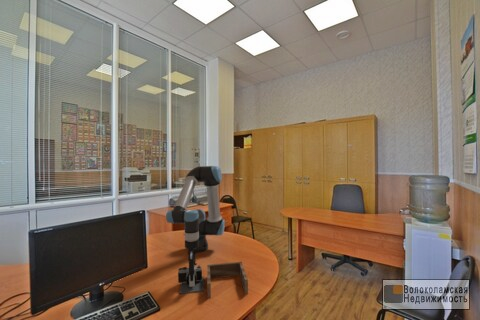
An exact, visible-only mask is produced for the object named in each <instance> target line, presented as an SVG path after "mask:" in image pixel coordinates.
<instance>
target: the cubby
mask: <svg viewBox="0 0 480 320" xmlns="http://www.w3.org/2000/svg"><path fill="white" fill-rule="evenodd" d="M206 267H207V268H206V269H207V271H206V273H207V274H206V276H207V277H206V278H207V279H206V282H207V283H206V286H207V287H206V288H207V299H211V298H212V297H211V296H212V295H211V294H212V293H211V292H212V291H211V290H212V289H211V279H216V278H225V277H234V276H239V278H240V280H241V284H242V287H243V291H244V294H245V295H248V294H249V280H248V276H247V272H246V271H245V267H244V264H243V262H242V261H235V262H225V263H213V264H207V265H206Z"/></svg>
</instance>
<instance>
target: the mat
mask: <svg viewBox="0 0 480 320" xmlns="http://www.w3.org/2000/svg"><path fill="white" fill-rule="evenodd" d="M180 284H181V285H180V290H179V295H186V294H195V293H202V292H204V290H205V276H203V275H202V280H201V281H196V282H195V286H193V287H189V285H188V284H187V282H186V283H180Z"/></svg>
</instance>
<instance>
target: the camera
mask: <svg viewBox="0 0 480 320" xmlns="http://www.w3.org/2000/svg"><path fill="white" fill-rule="evenodd" d="M177 271H178V272H177V277H178V279H177V280H178V284H182V283H186V282H187V284H188V285H189V275H188V273H189V267H187V266H184V267H180V268H178V270H177ZM194 273H195V282H196V281H201V280H202V277H203V270H202V266H201V265H196V266H195V267H194Z"/></svg>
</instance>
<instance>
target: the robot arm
mask: <svg viewBox="0 0 480 320" xmlns="http://www.w3.org/2000/svg"><path fill="white" fill-rule="evenodd" d="M222 174H223V173H222V170H221V168H220V167H219V166H218V165H217V166H216V165H215V166H214V165H207V166H205V165H203V166H201V165H200V166H195V167H194V168H192V169H191V170H189V172H188V173H187V175H186V176H185V177H184V184H183V186H182V188H181V191H180V193H179V195H178V198H177V200H176V202H175V204H174V206H173V209H170V210H168V211H167V212H166V215H165V218H166V219H165V221H166V222H167V223H168V224H184V233H183V236H184V239H185V240H184V248H185V249H188V250H187V255H188V258H187V259H188V268H189V273H188V275H189V287H193V286H195V273H194V267H196V266H198V265H197V264H198V263H197V262H196V254H197V253H201V252H204V251H207V250H208V249H209V242H208V240H207V236H222V235H223V234H224V231H225V226H226V220H225V219H223V216H222V215H221V210H220V196H219V186H220V184H221V182H222V180H223V175H222ZM198 183H203V186H204V187H206V196H207V197H206V199H207V210H208V212H207V213H208V216H207V217H206V212H205V210H203V209H201V208H197V209H188V205H189V203H190V201H191V198H192V195H193V193H194V190H195V188H196V186H197V185H198ZM187 209H188V210H187Z"/></svg>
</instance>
